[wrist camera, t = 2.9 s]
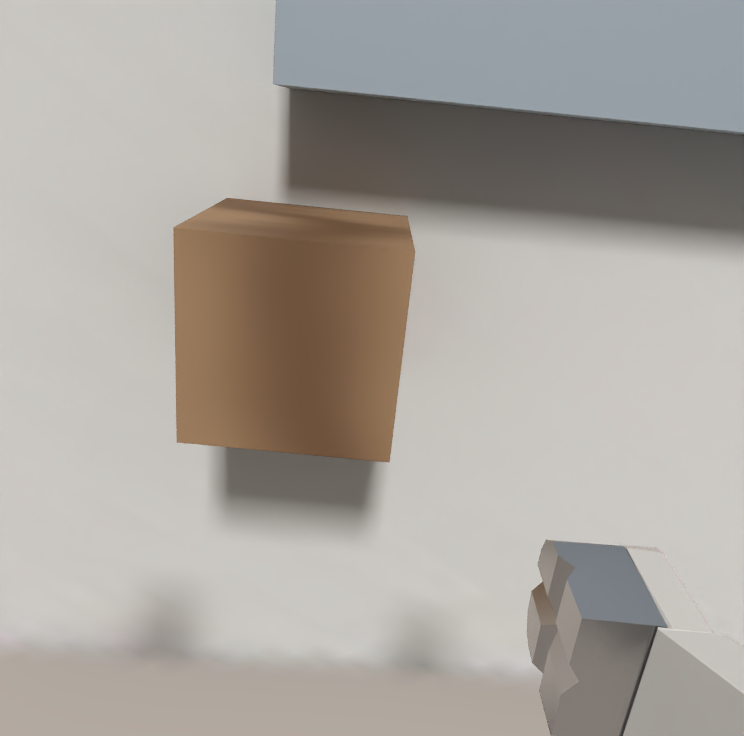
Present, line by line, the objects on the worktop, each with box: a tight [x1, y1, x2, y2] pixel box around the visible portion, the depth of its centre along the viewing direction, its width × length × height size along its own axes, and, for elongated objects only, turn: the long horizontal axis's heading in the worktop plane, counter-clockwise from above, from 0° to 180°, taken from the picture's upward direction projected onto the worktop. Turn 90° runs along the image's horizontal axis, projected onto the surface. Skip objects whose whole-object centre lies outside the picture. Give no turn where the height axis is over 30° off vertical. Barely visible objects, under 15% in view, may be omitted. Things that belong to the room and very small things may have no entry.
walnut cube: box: [174, 198, 415, 462], centre depth 18 cm, size 6×6×6 cm
